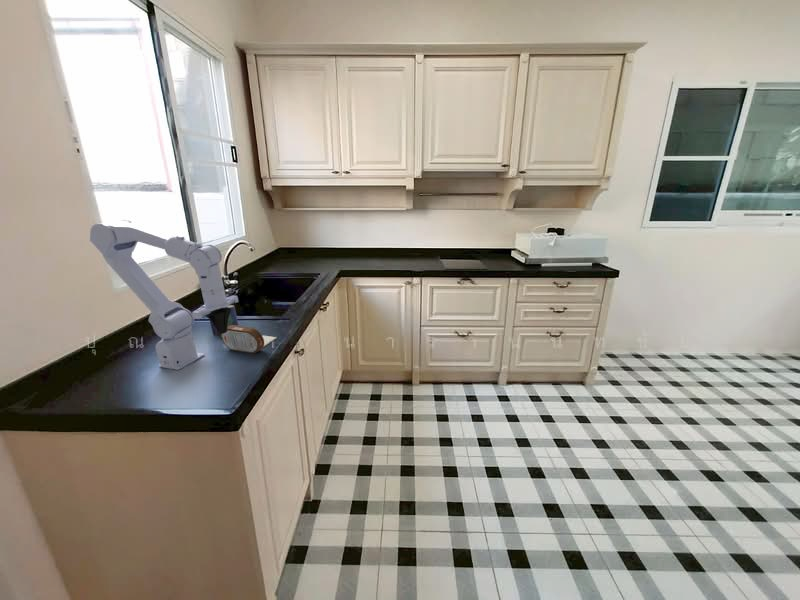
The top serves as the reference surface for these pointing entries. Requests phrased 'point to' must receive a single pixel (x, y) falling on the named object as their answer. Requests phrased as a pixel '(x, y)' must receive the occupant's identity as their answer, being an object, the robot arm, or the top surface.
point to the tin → (243, 339)
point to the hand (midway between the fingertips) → (222, 332)
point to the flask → (231, 320)
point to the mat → (268, 339)
